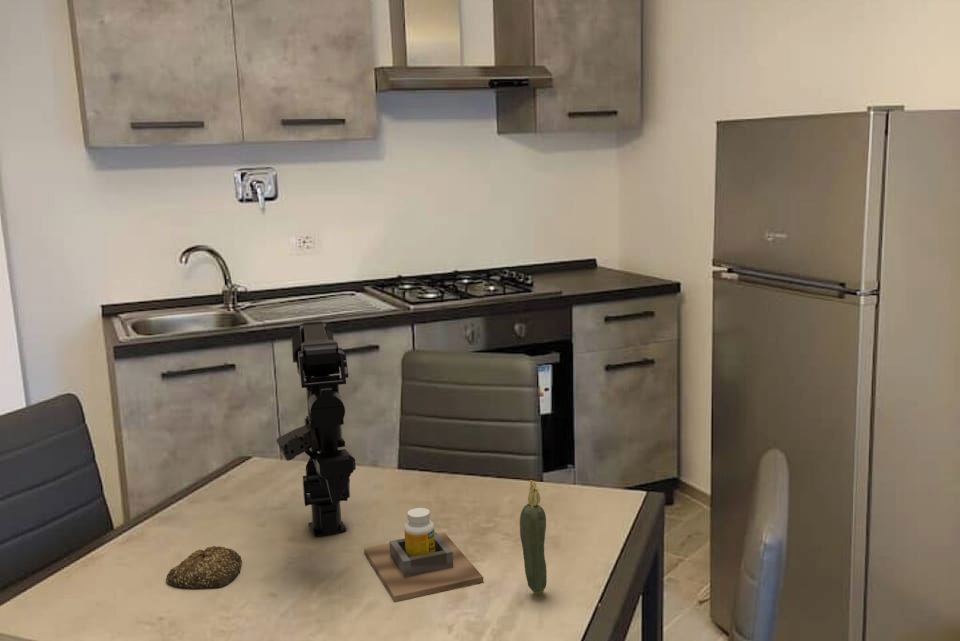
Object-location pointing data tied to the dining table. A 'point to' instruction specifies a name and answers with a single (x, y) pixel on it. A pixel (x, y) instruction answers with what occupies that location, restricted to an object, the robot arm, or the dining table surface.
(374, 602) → the dining table surface
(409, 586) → the can holder
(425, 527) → the supplement bottle
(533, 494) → the vegetable
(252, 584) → the dining table surface
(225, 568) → the bread roll
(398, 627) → the dining table surface
